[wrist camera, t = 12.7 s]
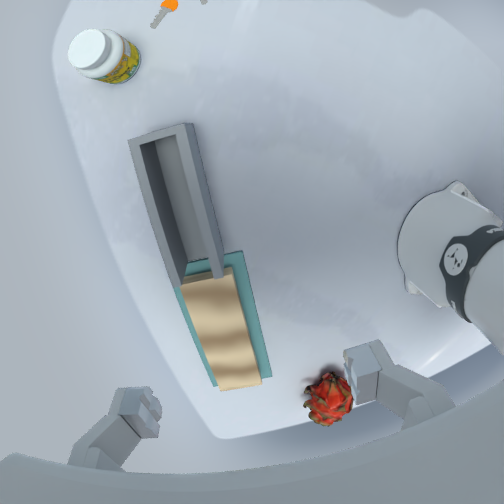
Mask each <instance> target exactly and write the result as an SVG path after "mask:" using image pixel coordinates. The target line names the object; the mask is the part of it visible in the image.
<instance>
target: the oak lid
mask: <svg viewBox="0 0 504 504" xmlns="http://www.w3.org/2000/svg"><path fill="white" fill-rule="evenodd" d="M180 290H181V293H182V295H183V298H184V301H185V304H186V306H187V309H188V312H189V314H190V317H191V320H192V322H193V325H194V328H195V330H196V333H197V335H198V338H199V340H200V343H201V345H202V348H203V350H204V353H205V355H206V358H207V360H208V363H209V365H210V367H211V370H212V372H213V374H214V377H215V379H216V381H217V384H218V386H219V388H220V391H227V390H233V389H239V388H245V387H251V386H256V385H262V380H261V374H260V370H259V367H258V363H257V360H256V356H255V352H254V349H253V345H252V341H251V338H250V334H249V330H248V327H247V323H246V319H245V315H244V312H243V308H242V304H241V300H240V297H239V293H238V289H237V285H236V281H235V278H234V274H233V270H232V267H228V268H224V278H219V279H215V280H214V277H213V273H212V271H209V272H204V273H200V274H195V275H190V276H185V277H184V280H183V284H182V286H180Z"/></svg>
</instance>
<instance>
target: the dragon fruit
mask: <svg viewBox="0 0 504 504" xmlns="http://www.w3.org/2000/svg"><path fill="white" fill-rule="evenodd" d="M321 378H322V379H321ZM321 378H320V380H323V382H322V383H321V384H320V385H319V386H316V385H310V386H307V387H306V389H305V391H304V393H308V392H310V394H311V396H312V400H307V401H305V403H304V405H303V407H304V408H306V406H307V407H309V408H310V410H311V412H310V413H309V418H310V419H312V420H314V422H315V423H317V424H321V425H323V426H327V425H328V426H330V425H332V424H333V422H338V421H341V420H342V416H343V415H344V414H346V413H349V412H350V411H351V410H352V405H353V400H354V398H353V396H352V391H351V386H349V385H348V383H347V380H345V379H343V378H342V377H340V376H336V374H335V372H332V374H331V373H329V372H328V373H326V374H325V375H323V376H322V377H321Z"/></svg>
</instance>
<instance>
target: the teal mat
mask: <svg viewBox="0 0 504 504" xmlns="http://www.w3.org/2000/svg"><path fill="white" fill-rule="evenodd" d="M228 267H232V270H233V274H234V278H235V281H236V285H237V289H238V293H239V297H240V300H241V304H242V308H243V312H244V315H245V319H246V323H247V327H248V330H249V334H250V338H251V341H252V345H253V349H254V352H255V356H256V360H257V363H258V367H259V370H260V374H261V379H263V378H268V377H272V373H271V369H270V365H269V361H268V356H267V352H266V348H265V344H264V340H263V336H262V332H261V328H260V323H259V319H258V315H257V311H256V307H255V303H254V298H253V294H252V290H251V286H250V282H249V277H248V273H247V269H246V265H245V260H244V256H243V252H242V251H238V252H233V253H229V254H224V268H228ZM209 271H212V270H211V267H210V263H209V260H208V258H205V259H201V260H196V261H192V262H188V264H187V268H186V272H185V276H190V275H195V274H200V273H204V272H209ZM185 276H184V277H185ZM173 289H174V291H175V294H176V297H177V299H178V302H179V305H180V307H181V310H182V313H183V315H184V318H185V320H186V323H187V325H188V328H189V330H190V333H191V335H192V338H193V340H194V343H195V345H196V347H197V350H198V352H199V355H200V357H201V359H202V362H203V364H204V366H205V369H206V371H207V373H208V375H209V378H210V380H211V382H212V384H213V387H215V386H218V384H217V381H216V379H215V377H214V374H213V372H212V370H211V367H210V365H209V363H208V360H207V358H206V355H205V353H204V350H203V348H202V345H201V343H200V340H199V338H198V335H197V333H196V330H195V328H194V325H193V322H192V320H191V317H190V314H189V312H188V309H187V306H186V304H185V301H184V298H183V295H182V293H181V290H180V287H175V288H173Z"/></svg>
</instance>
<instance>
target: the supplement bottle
mask: <svg viewBox="0 0 504 504" xmlns="http://www.w3.org/2000/svg"><path fill="white" fill-rule="evenodd" d="M68 59H69V62H70V63H71V64H72V65H73V66H74V67H76V69H77V70H78V72H79V73H80V74H81V75H83V76H85V77H87V78H91V79H95V80H99V81H103V82H107V83H111V84H119V83H123V82H125V81H127V80H129V79H130V78H131V77H132V76H133V75H134V74H135V72H136V71H137V69H138V67H139V65H140V53H139V51H138V49H137V48H136V47H135V46H134V45H133V44H132V43H130V42H129V41H127V40H126V39H125V38H123V37H122V36H120V35H119V34H118V33H116V32H114V31H112V30H108V29H101V30H97V29H88V30H85V31H83V32H81V33H79V34H78V35H77V36H76V37H75V38H74V39H73V41H72V42H71V44H70V46H69V49H68Z"/></svg>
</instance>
